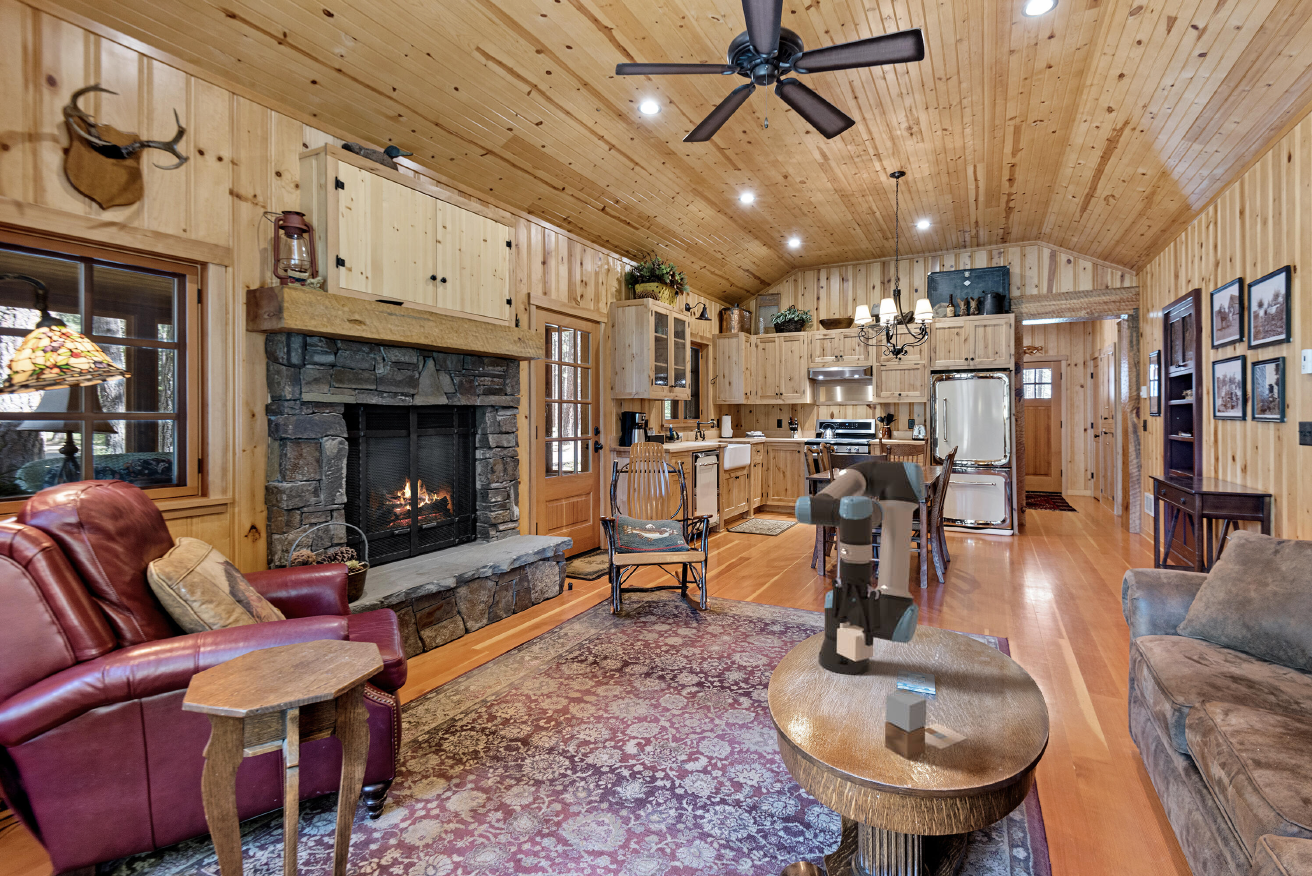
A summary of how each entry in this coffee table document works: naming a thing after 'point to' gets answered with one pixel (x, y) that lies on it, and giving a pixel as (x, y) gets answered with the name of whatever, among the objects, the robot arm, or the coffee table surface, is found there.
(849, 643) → the cream brick
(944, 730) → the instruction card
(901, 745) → the walnut base brick
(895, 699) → the slate brick
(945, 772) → the coffee table surface
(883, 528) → the robot arm
